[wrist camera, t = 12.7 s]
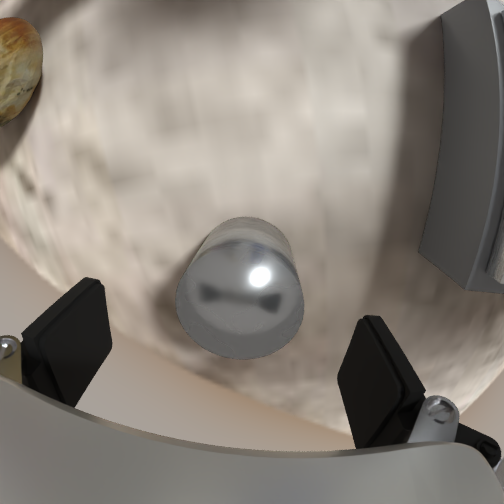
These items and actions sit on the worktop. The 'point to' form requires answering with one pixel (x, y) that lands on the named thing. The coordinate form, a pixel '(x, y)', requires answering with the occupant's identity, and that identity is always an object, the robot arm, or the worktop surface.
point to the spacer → (241, 291)
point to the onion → (18, 65)
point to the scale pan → (498, 248)
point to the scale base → (469, 147)
